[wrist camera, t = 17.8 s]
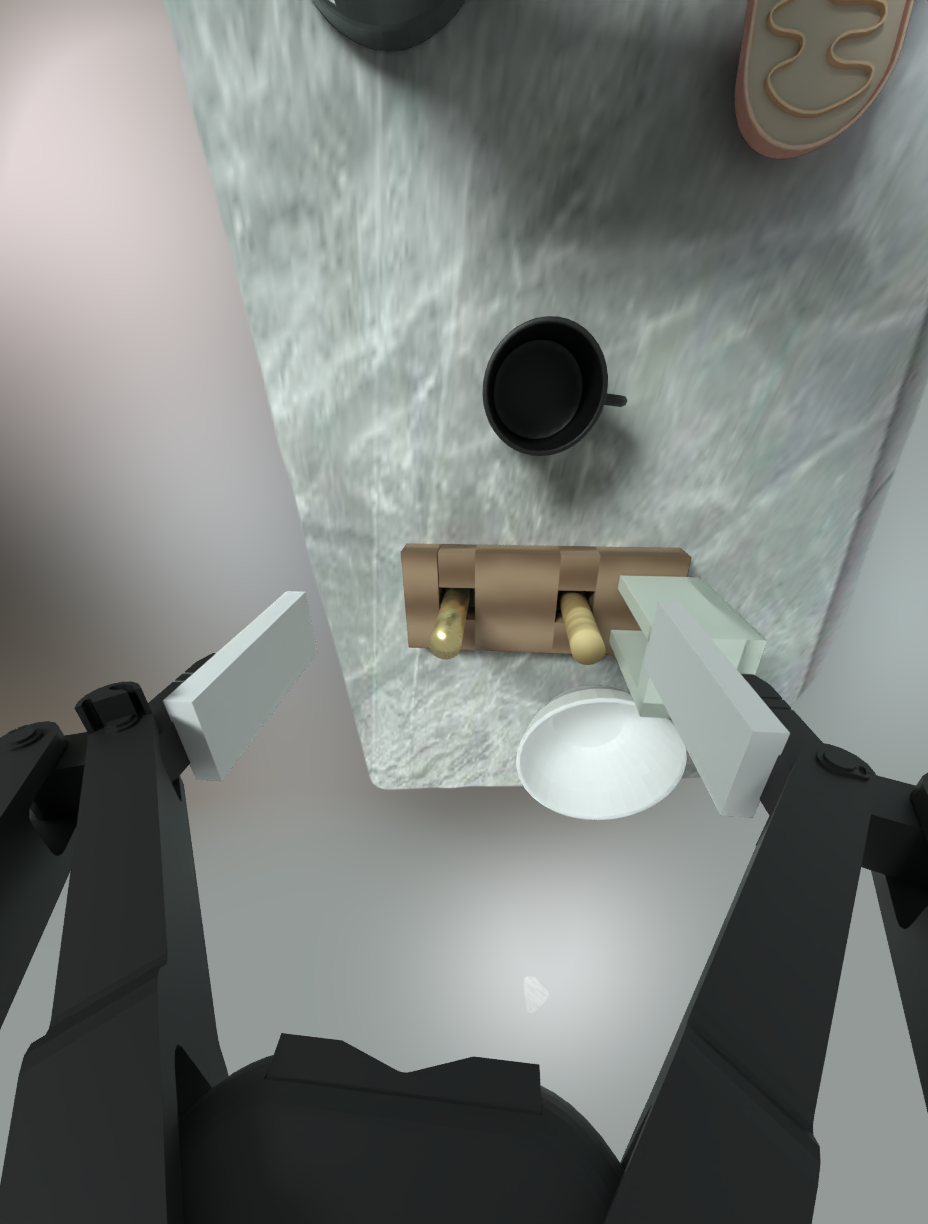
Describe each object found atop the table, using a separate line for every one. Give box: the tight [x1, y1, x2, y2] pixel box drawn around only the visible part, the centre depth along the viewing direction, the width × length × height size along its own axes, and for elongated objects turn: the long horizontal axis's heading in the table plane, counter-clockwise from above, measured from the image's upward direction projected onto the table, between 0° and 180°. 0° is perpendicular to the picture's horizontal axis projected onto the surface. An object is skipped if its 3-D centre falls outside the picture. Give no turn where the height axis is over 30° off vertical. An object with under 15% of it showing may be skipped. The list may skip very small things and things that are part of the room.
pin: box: [429, 587, 471, 659], centre depth 45 cm, size 3×3×12 cm
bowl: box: [516, 685, 687, 820], centre depth 54 cm, size 19×20×8 cm
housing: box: [609, 575, 767, 718], centre depth 40 cm, size 8×8×13 cm
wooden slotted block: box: [401, 544, 691, 665], centre depth 44 cm, size 12×30×12 cm, turn 91°
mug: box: [483, 316, 627, 456], centre depth 36 cm, size 9×12×9 cm
